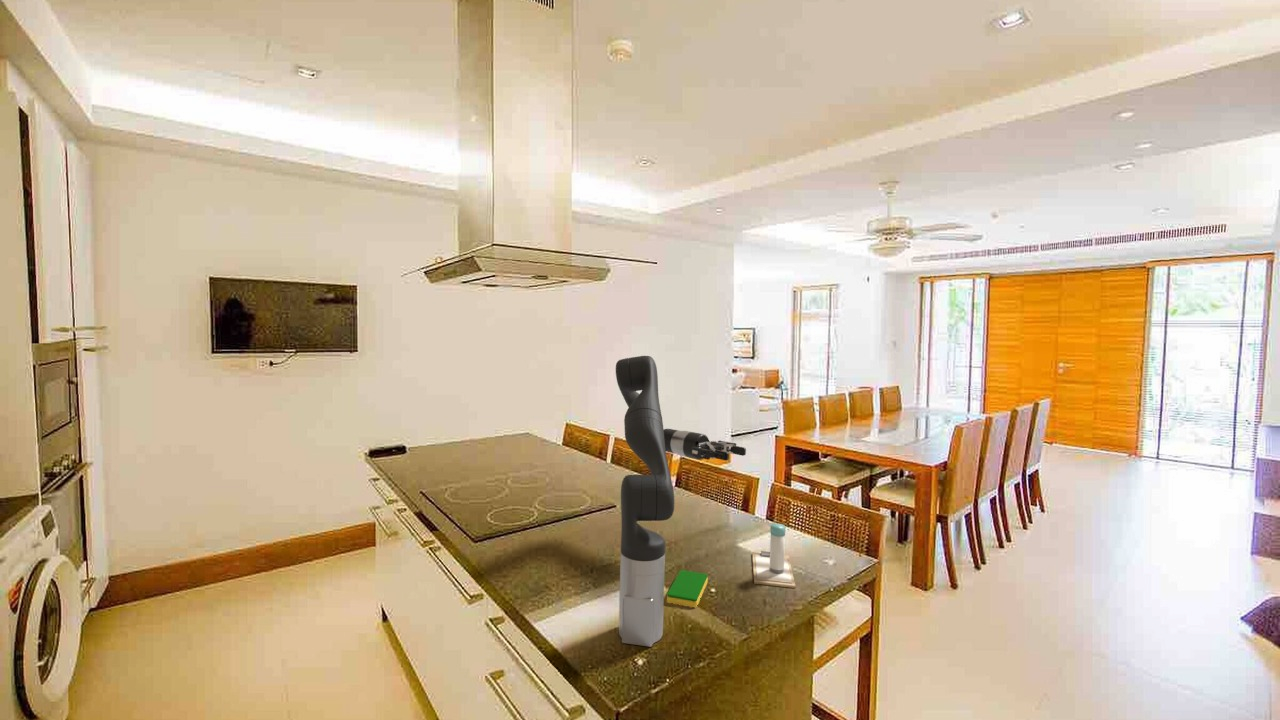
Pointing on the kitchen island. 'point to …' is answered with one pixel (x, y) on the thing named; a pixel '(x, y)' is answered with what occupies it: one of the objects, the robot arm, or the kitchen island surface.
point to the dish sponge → (687, 588)
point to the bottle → (777, 548)
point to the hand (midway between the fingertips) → (736, 454)
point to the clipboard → (768, 578)
